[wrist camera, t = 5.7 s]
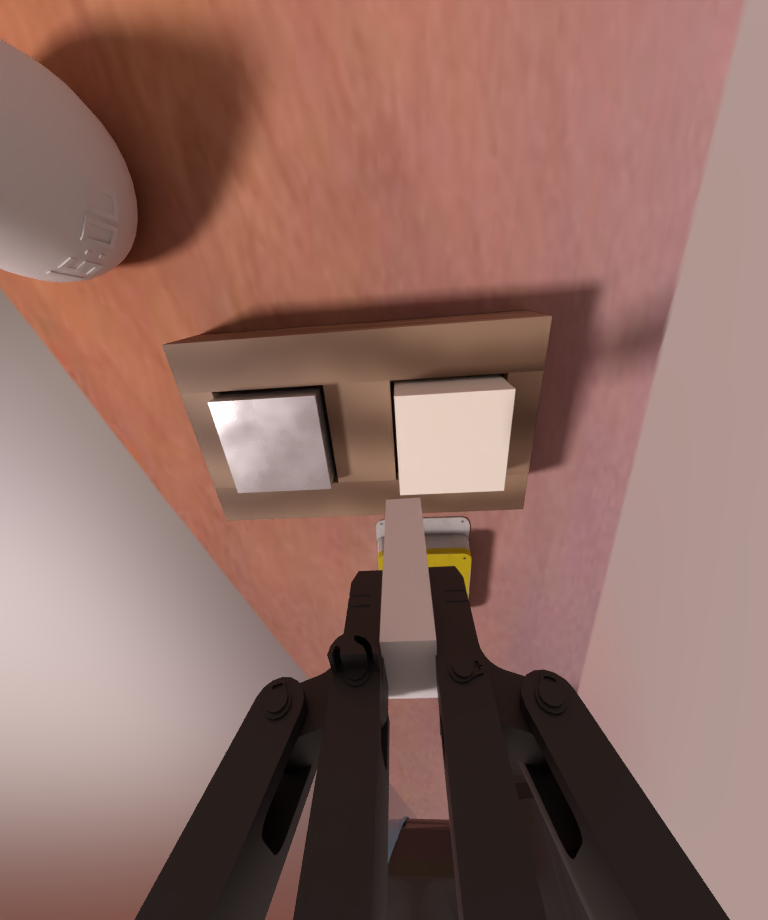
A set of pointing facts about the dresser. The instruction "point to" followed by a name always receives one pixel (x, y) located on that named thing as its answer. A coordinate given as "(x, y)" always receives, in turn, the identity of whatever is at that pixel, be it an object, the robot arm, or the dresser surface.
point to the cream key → (453, 434)
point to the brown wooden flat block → (364, 400)
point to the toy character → (58, 179)
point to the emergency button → (440, 544)
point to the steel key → (276, 438)
